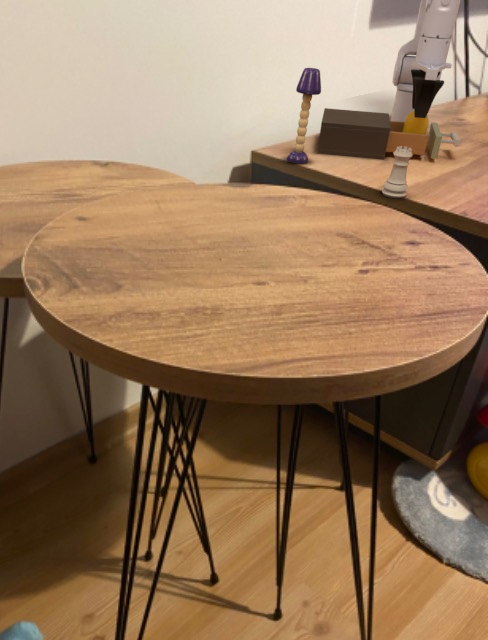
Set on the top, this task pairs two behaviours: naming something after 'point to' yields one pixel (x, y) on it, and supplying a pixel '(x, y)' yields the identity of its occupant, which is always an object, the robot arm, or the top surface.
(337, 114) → the cabinet
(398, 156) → the rook chess piece
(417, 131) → the pepper
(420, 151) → the drawer
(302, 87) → the toy lamp
